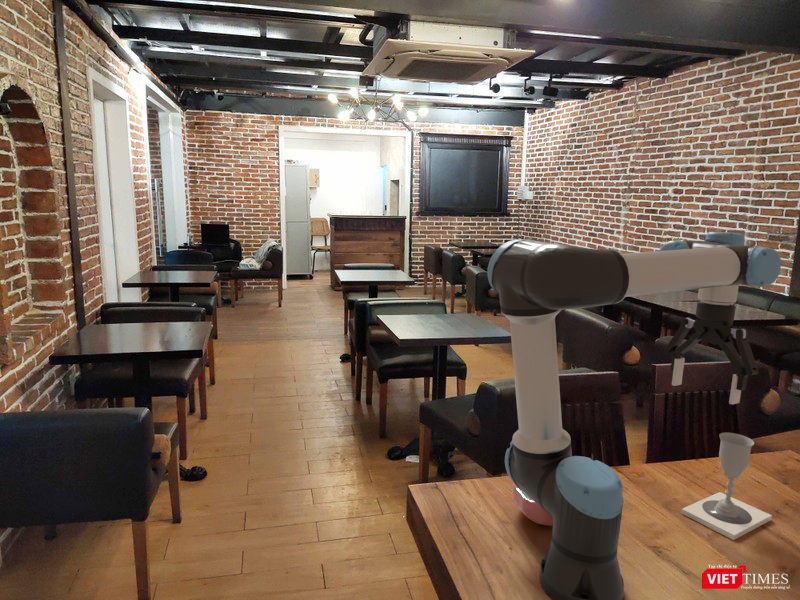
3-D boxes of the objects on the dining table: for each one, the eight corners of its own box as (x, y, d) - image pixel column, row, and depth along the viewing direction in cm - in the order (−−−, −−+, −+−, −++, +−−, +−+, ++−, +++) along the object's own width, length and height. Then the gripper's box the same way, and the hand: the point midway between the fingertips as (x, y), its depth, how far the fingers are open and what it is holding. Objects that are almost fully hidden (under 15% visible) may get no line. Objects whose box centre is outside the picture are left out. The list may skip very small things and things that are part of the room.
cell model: (498, 528, 122) (501, 480, 120) (522, 488, 140) (525, 446, 138) (577, 551, 115) (581, 501, 113) (592, 506, 132) (596, 462, 130)
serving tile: (733, 540, 120) (734, 534, 120) (681, 513, 130) (681, 508, 130) (771, 520, 128) (771, 514, 128) (719, 496, 138) (719, 491, 138)
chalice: (750, 520, 125) (761, 446, 122) (720, 519, 125) (730, 445, 122) (732, 503, 132) (741, 432, 129) (703, 502, 132) (712, 432, 129)
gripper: (786, 311, 114) (771, 409, 117) (675, 292, 135) (664, 376, 138) (767, 313, 110) (751, 414, 113) (655, 294, 131) (645, 379, 135)
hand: (703, 393), depth 126 cm, fingers open, 13 cm apart
